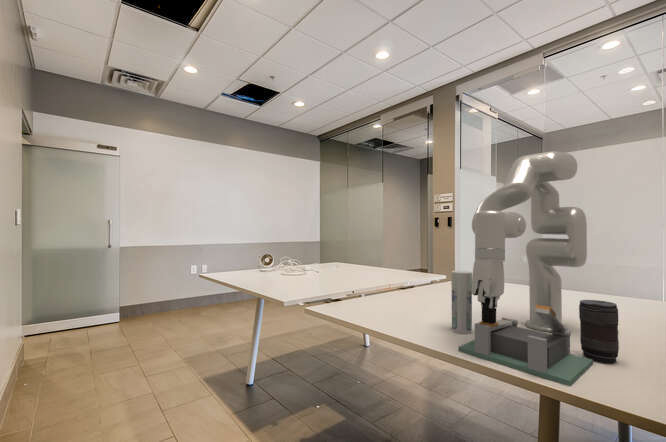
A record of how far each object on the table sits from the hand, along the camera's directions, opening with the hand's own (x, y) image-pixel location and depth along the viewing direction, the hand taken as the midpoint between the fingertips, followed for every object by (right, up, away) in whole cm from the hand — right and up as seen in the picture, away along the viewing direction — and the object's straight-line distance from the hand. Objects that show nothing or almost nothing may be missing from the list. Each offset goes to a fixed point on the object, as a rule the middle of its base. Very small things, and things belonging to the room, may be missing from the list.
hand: (488, 322), depth 88 cm
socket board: (+8, -9, -2) cm, 12 cm away
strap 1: (+4, -2, +3) cm, 5 cm away
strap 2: (+13, +2, -7) cm, 14 cm away
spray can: (+1, -10, +20) cm, 22 cm away
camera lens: (+28, -9, -2) cm, 30 cm away
